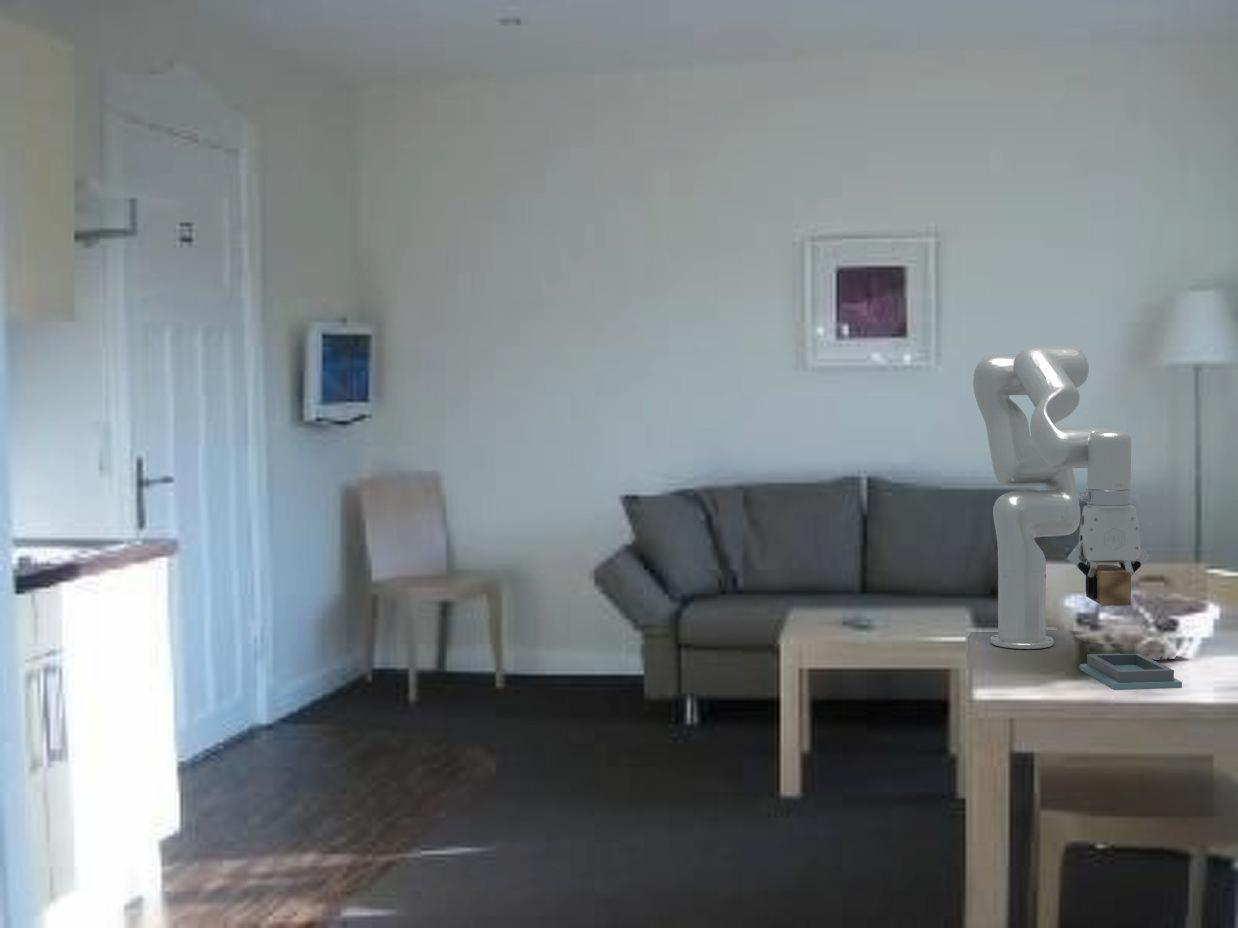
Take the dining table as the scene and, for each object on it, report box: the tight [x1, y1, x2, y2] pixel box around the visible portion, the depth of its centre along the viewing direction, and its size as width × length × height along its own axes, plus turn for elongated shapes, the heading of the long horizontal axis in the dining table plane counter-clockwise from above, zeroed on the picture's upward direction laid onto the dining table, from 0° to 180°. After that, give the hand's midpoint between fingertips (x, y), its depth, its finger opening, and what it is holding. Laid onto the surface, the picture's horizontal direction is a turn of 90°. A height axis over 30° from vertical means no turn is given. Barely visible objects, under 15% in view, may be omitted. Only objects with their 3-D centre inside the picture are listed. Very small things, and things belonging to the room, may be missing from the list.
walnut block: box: [1085, 563, 1132, 607], centre depth 274 cm, size 5×10×6 cm, turn 179°
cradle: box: [1079, 653, 1183, 690], centre depth 275 cm, size 17×12×3 cm
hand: (1108, 596), depth 274 cm, fingers closed on walnut block, 5 cm apart
